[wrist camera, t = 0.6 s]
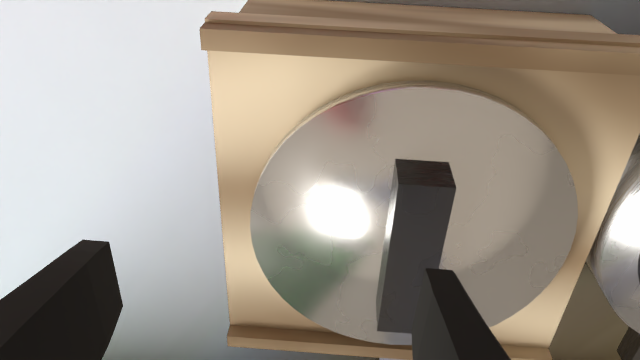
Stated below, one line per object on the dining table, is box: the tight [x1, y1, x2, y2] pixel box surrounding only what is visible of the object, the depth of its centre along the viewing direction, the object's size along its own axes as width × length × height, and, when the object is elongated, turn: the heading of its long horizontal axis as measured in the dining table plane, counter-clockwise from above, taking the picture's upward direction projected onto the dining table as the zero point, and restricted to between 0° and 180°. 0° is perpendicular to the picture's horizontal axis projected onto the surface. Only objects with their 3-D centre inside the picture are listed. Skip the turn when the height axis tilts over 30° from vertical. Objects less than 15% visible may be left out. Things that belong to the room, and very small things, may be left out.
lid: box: [250, 80, 578, 345], centre depth 17 cm, size 11×11×2 cm
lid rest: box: [200, 0, 640, 360], centre depth 19 cm, size 13×13×5 cm
